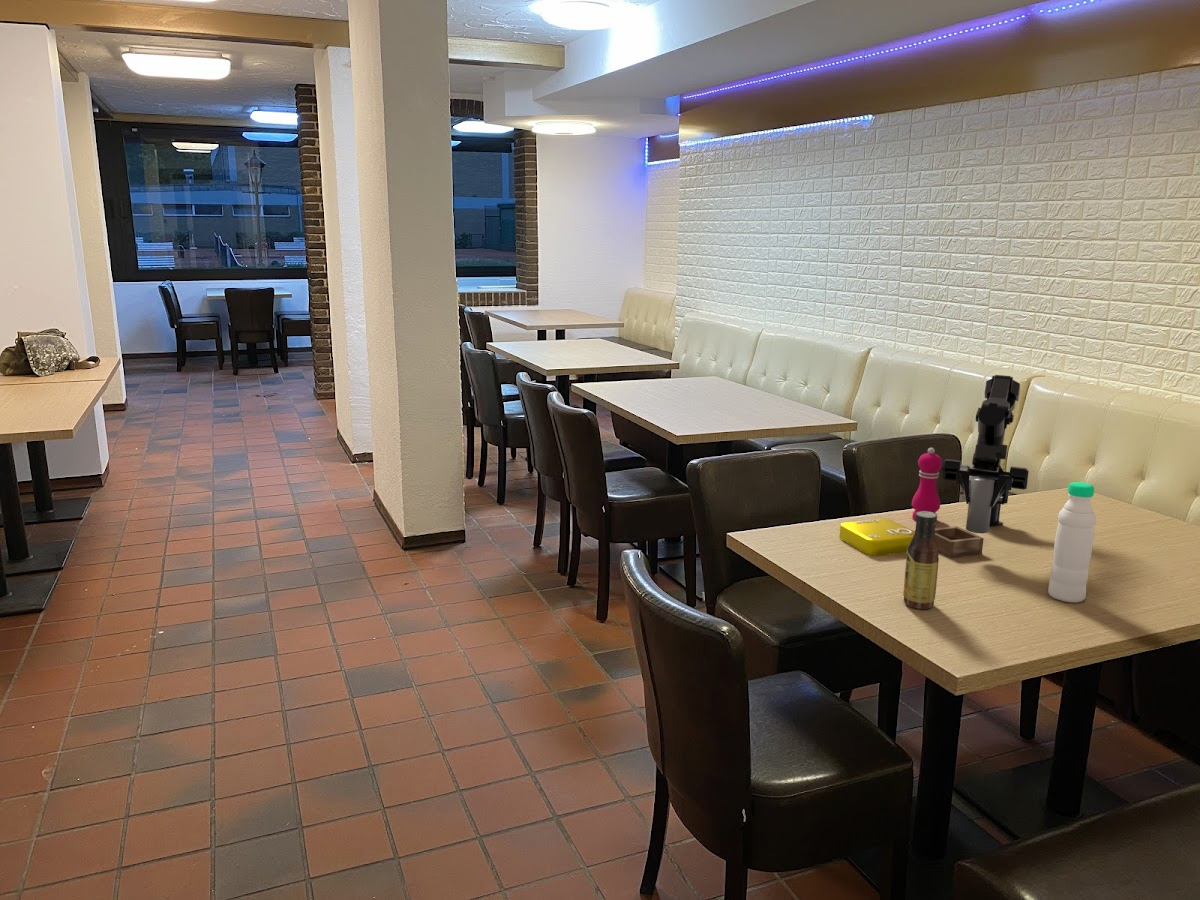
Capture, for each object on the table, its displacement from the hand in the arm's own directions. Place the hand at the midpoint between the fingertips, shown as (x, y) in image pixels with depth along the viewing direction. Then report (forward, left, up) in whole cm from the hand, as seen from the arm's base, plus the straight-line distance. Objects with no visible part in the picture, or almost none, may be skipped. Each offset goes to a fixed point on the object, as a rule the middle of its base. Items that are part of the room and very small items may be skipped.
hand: (979, 504), depth 210 cm
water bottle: (-3, +25, -14) cm, 29 cm away
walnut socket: (0, -7, -13) cm, 15 cm away
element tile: (+15, -16, -14) cm, 26 cm away
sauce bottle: (+30, +19, -14) cm, 38 cm away
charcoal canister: (-1, -1, -7) cm, 7 cm away
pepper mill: (-9, -29, -14) cm, 33 cm away
